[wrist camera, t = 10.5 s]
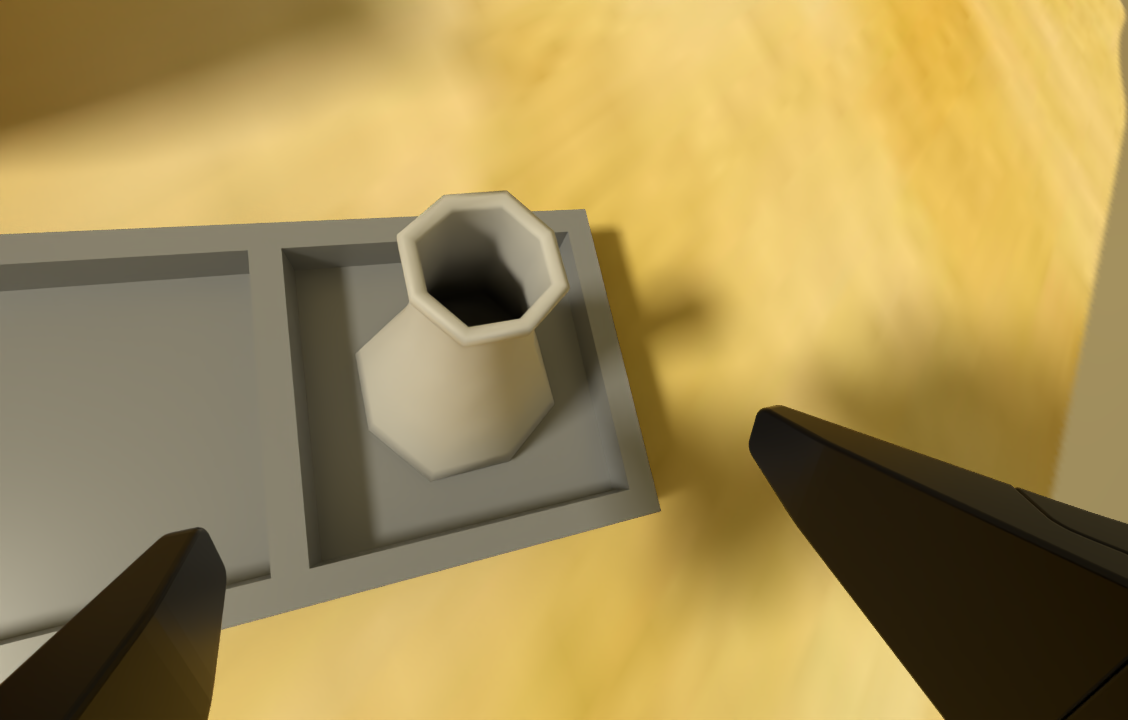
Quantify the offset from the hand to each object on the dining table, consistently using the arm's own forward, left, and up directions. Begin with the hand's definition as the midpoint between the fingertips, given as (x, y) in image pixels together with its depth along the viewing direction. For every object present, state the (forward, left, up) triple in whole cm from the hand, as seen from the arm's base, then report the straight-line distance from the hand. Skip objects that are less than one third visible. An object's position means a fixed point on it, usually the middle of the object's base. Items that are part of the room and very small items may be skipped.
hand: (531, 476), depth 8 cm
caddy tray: (-4, +6, -11) cm, 13 cm away
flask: (+1, +4, -11) cm, 11 cm away
